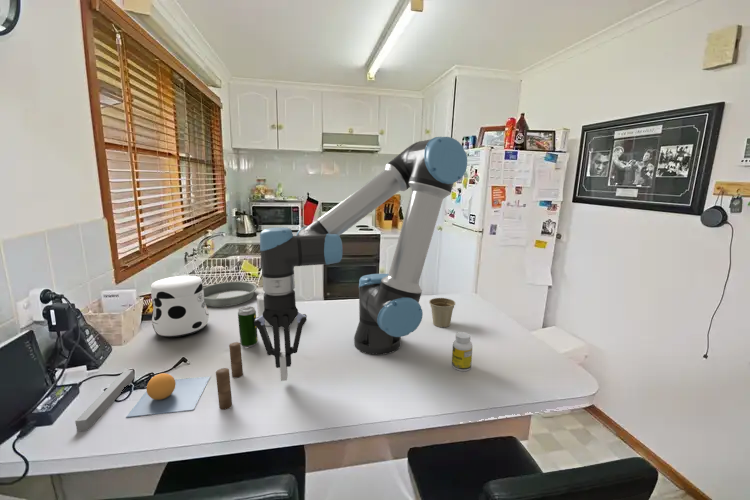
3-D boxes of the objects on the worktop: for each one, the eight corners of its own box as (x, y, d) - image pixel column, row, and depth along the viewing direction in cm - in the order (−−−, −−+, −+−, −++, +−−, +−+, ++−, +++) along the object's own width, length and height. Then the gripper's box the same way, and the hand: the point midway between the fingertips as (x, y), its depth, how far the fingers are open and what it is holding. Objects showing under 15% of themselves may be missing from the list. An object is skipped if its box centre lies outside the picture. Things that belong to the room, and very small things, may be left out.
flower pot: (425, 327, 125) (426, 304, 123) (431, 317, 133) (432, 296, 132) (451, 331, 121) (453, 308, 120) (456, 321, 130) (457, 299, 128)
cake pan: (219, 313, 139) (218, 302, 138) (186, 301, 152) (185, 291, 151) (268, 296, 159) (268, 286, 158) (235, 287, 172) (234, 278, 171)
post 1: (233, 401, 83) (230, 367, 81) (230, 409, 80) (227, 374, 78) (221, 402, 82) (217, 368, 81) (217, 410, 80) (214, 375, 78)
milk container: (220, 322, 128) (215, 276, 125) (185, 344, 112) (178, 291, 108) (180, 318, 132) (175, 273, 129) (141, 338, 116) (133, 287, 112)
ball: (148, 385, 86) (173, 393, 88) (137, 400, 81) (163, 408, 82) (158, 365, 86) (183, 373, 87) (148, 378, 80) (174, 386, 82)
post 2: (243, 371, 96) (241, 341, 94) (241, 377, 93) (239, 346, 91) (233, 372, 95) (230, 342, 93) (230, 378, 93) (228, 347, 91)
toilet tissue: (252, 322, 129) (250, 296, 127) (277, 312, 139) (276, 288, 137) (271, 328, 123) (269, 302, 121) (296, 317, 133) (295, 293, 131)
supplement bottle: (447, 364, 100) (449, 332, 98) (462, 360, 102) (464, 329, 100) (459, 373, 95) (461, 340, 93) (475, 369, 97) (477, 337, 95)
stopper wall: (134, 378, 93) (133, 369, 92) (87, 430, 73) (85, 420, 73) (126, 378, 92) (124, 370, 92) (77, 431, 73) (75, 421, 73)
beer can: (242, 349, 108) (239, 313, 106) (238, 343, 113) (235, 308, 110) (260, 345, 111) (257, 310, 109) (255, 338, 116) (253, 304, 113)
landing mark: (210, 376, 93) (210, 376, 93) (193, 410, 80) (193, 409, 80) (153, 382, 91) (153, 381, 91) (126, 417, 77) (126, 416, 77)
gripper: (248, 297, 80) (255, 388, 85) (306, 294, 82) (309, 383, 87) (254, 287, 87) (260, 372, 92) (306, 285, 90) (309, 367, 94)
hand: (284, 377), depth 90 cm, fingers closed
